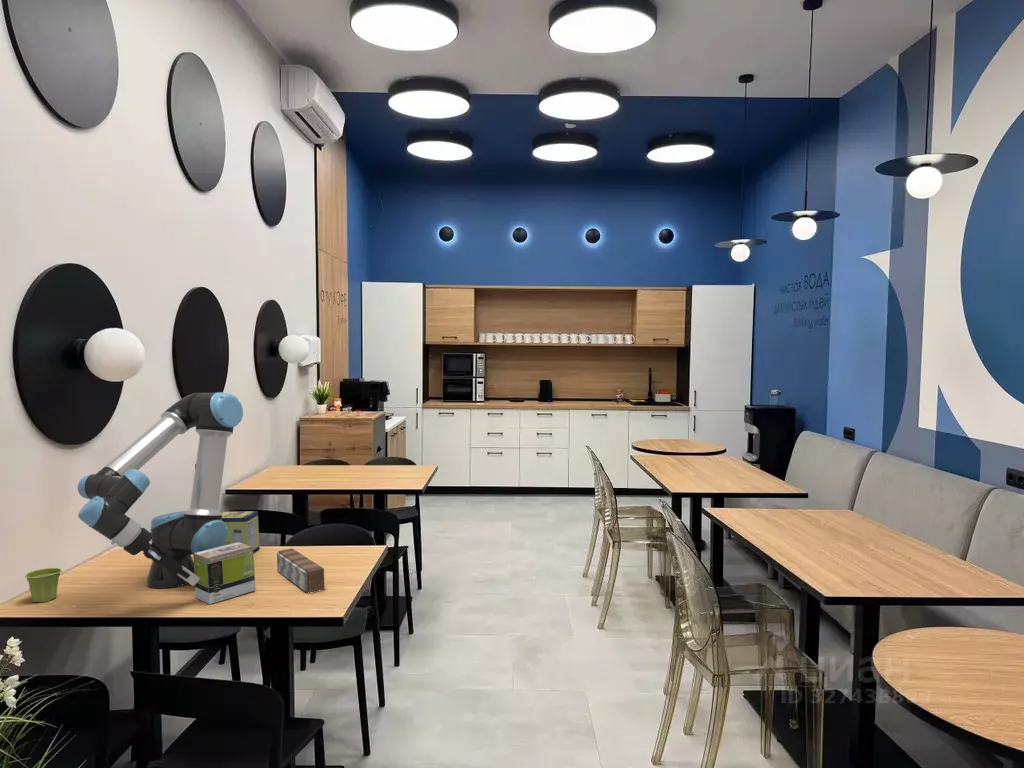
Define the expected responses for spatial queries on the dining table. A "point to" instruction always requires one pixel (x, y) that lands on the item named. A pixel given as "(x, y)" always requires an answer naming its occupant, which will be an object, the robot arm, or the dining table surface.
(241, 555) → the tea box
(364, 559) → the dining table surface
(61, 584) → the dining table surface
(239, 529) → the protein box
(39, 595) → the plant pot
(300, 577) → the bar
